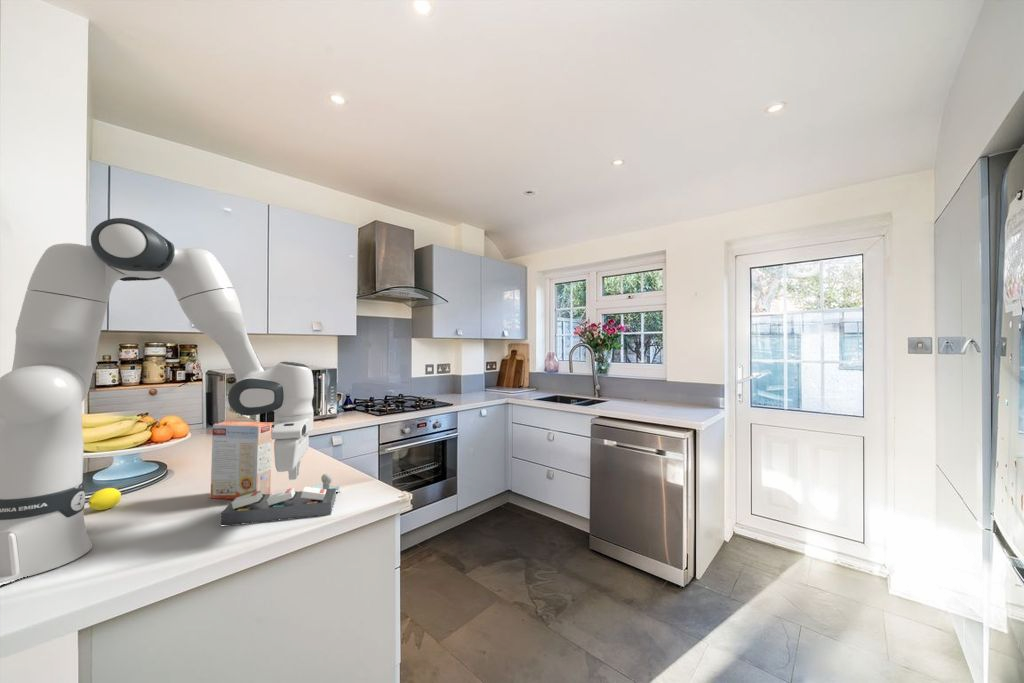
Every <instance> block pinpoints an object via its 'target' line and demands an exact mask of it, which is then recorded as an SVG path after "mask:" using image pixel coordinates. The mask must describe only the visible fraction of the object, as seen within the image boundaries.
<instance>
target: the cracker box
mask: <svg viewBox="0 0 1024 683" xmlns="http://www.w3.org/2000/svg"><path fill="white" fill-rule="evenodd" d="M272 427H273V423H272V422H269V421H268V422H266V421H265V422H264V421H263V422H262V421H240V420H239V421H237V420H236V421H233V420H229V421H223V422H218V423H215V424H212V439H211V440H212V442H211V443H212V444H211V471H210V472H211V474H210V498H211V499H225V500H226V499H228V500H234V499H235V498H236V497H240V496H244V495H247V494H250V493H254V492H257V491H260V490H261V493H262V494H265V495H266V494H271V467H272V462H271V461H272V438H271V433H272V430H273V428H272Z"/></svg>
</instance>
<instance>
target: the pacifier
mask: <svg viewBox="0 0 1024 683" xmlns="http://www.w3.org/2000/svg"><path fill="white" fill-rule="evenodd" d="M332 481H333V478H332V476H331V475H330V474H329V473H324V474H322V475H321V482H322V484H317V485H314V486H313V487H312V488H319V489H333V488H336V490H337V491H336V492H338V493H340V492H341V491H340V489H341V488H340V486H339V485H338V486H331V483H332ZM339 491H340V492H339Z"/></svg>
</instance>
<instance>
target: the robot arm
mask: <svg viewBox="0 0 1024 683" xmlns="http://www.w3.org/2000/svg"><path fill="white" fill-rule="evenodd" d="M90 244H91V245H83V244H80V243H72V242H69V243H67V242H65V243H56V244H53V245H51V246H48V248H47V249H45V250H44V252H43V253H42V255H41V256H40V258H39V260H38V262H37V263H36V265H35V267H34V269H33V271H32V274H31V276H30V279H29V282H28V285H27V288H26V292H25V294H24V298H23V301H22V305H21V310H20V312H19V316H18V320H17V323H16V328H15V345H14V346H15V348H14V355H13V362H12V363H13V364H12V369H11V371H9V372H7V373H5V374H3V375H2V376H1V377H0V583H3V582H7V581H11V580H16V579H19V578H22V579H24V578H23V577H25V578H27V576H28V577H31V576H34V575H38V574H41V573H44V572H47V571H50V570H54V569H56V568H59V567H61V566H64V565H67V564H68V563H71V562H73V561H75V560H77V559H79V558H80V557H82V556H84V555H85V554H87V553H88V552H89V551H90V550H92V547H93V544H92V542H91V540H90V537H89V534H88V532H87V531H88V530H87V527H86V522H85V516H84V509H85V505H86V491H87V490H86V481H85V480H83V478H84V477H83V476H84V474H83V473H84V447H85V443H84V435H83V424H82V423H83V422H82V420H83V419H82V418H83V417H82V403H83V401H84V400H85V399H86V398H87V396H88V393H89V391H90V387H91V383H92V377H93V372H94V367H95V364H96V363H95V362H96V356H97V350H98V346H99V342H100V341H99V340H100V336H101V332H102V329H103V323H104V320H105V316H106V312H107V308H108V304H109V300H110V295H111V292H112V289H113V287H114V285H115V284H116V283H117V282H118V281H119V280H120V281H123V282H131V281H132V282H133V281H135V282H136V281H154V280H159V279H163V280H165V281H166V282H167V283H168V285H169V286H170V287H171V289H172V290H173V293H174V295H175V297H176V299H177V301H178V303H179V306H180V308H181V309H182V312H183V313H184V315H185V316H186V317H187V320H189V321H190V323H191V324H192V326H194V328H195V329H196V330H198V331H199V332H201V333H202V334H204V335H205V336H206V337H208V338H210V339H211V340H212V341H214V343H216V344H217V345H218V346H219V349H221V351H222V352H223V354H224V356H225V358H226V360H227V362H228V364H229V366H230V368H231V370H232V373H233V374H234V376H235V379H236V382H235V383H234V384H233V385H232V387H231V388H230V390H229V391H228V395H227V402H228V405H229V407H230V408H231V409H232V410H233V411H234V412H235V413H237V414H238V415H241V416H250V417H252V416H258V415H261V414H266V413H271V412H274V417H273V418H274V420H273V421H274V422H273V426H272V427H273V428H272V433H271V440H274V442H273V456H274V466H275V470H276V471H277V473H281V472H282V473H283V472H288V479H289V480H290V481H292V480H293V481H294V480H296V479H297V478H298V476H299V475H300V466H301V461H302V460H301V459H302V458H303V457H304V455H305V454H306V453H307V451H308V450H309V447H310V446H309V445H310V440H309V439H310V437H309V436H310V435H309V433H310V432H312V431H314V415H315V414H314V406H313V398H314V395H315V388H314V387H315V386H314V375H313V372H312V369H311V368H310V367H309V366H308V365H307V364H304V363H301V362H294V361H280V362H278V363H277V364H276V365H274V366H272V367H270V368H269V369H268V368H267V369H265V368H264V367H263V365H262V363H261V361H260V359H259V357H258V355H257V353H256V351H255V349H254V347H253V344H252V343H251V341H250V338H249V336H248V332H247V328H246V323H245V318H244V314H243V309H242V306H241V303H240V299H239V297H238V293H237V291H236V289H235V286H233V283H232V280H231V279H230V278H229V275H228V273H227V272H226V270H225V269H224V267H223V266H222V264H221V263H220V261H219V260H218V258H216V256H215V255H214V254H213V253H212V252H210V251H209V250H207V249H204V248H199V247H186V248H176V247H175V245H174V243H173V242H171V241H170V240H168V239H167V238H166V237H164V236H163V235H162V234H160V233H159V232H158V231H156V230H155V229H154V228H152V227H151V226H149V225H147V224H145V223H143V222H141V221H138V220H135V219H131V218H125V217H115V218H109V219H105V220H103V221H101V222H100V223H98V224H96V226H95V227H94V229H93V230H92V232H91V235H90ZM19 580H20V579H19Z"/></svg>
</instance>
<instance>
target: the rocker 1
mask: <svg viewBox="0 0 1024 683" xmlns="http://www.w3.org/2000/svg"><path fill="white" fill-rule="evenodd" d="M261 497H262V493H261V490H260V491H257V492H254V493H250V494H247V495H244V496H240V497H237V498H236V499H235V500H234V499H233V500H234V501H233V500H232V501H233V502H232V501H231V502H232V506H233V509H235V508H238V507H242V506H245V505H248V504H251V503H255V502H258V501H259V500H260V499H261Z"/></svg>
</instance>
